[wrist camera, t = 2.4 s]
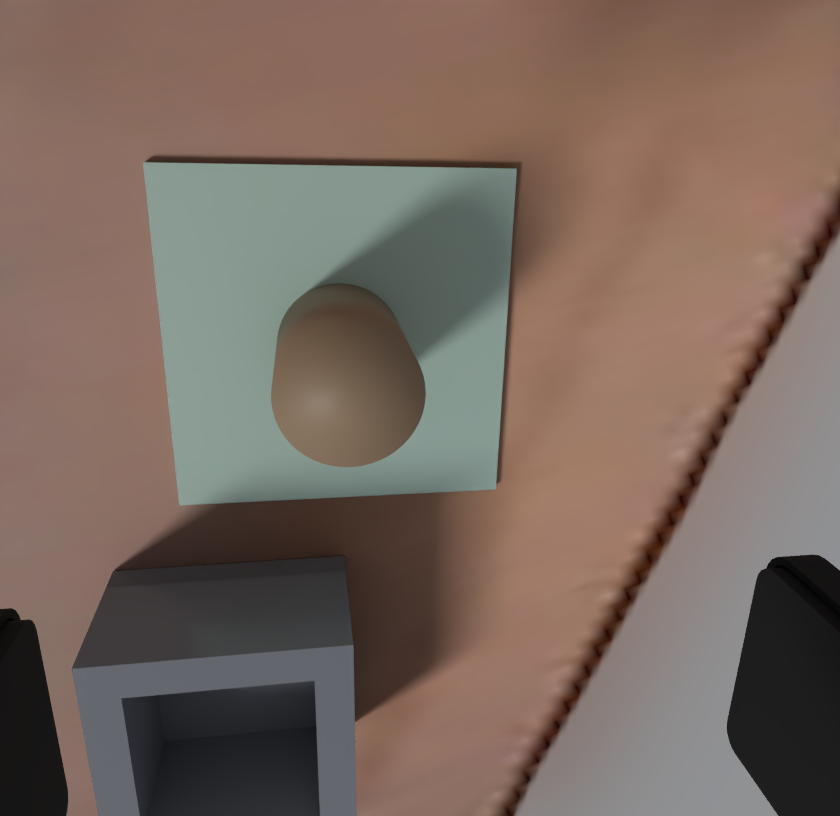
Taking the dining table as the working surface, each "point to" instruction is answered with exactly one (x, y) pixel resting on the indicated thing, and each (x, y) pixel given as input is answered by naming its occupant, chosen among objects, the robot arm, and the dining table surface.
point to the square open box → (221, 691)
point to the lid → (331, 326)
